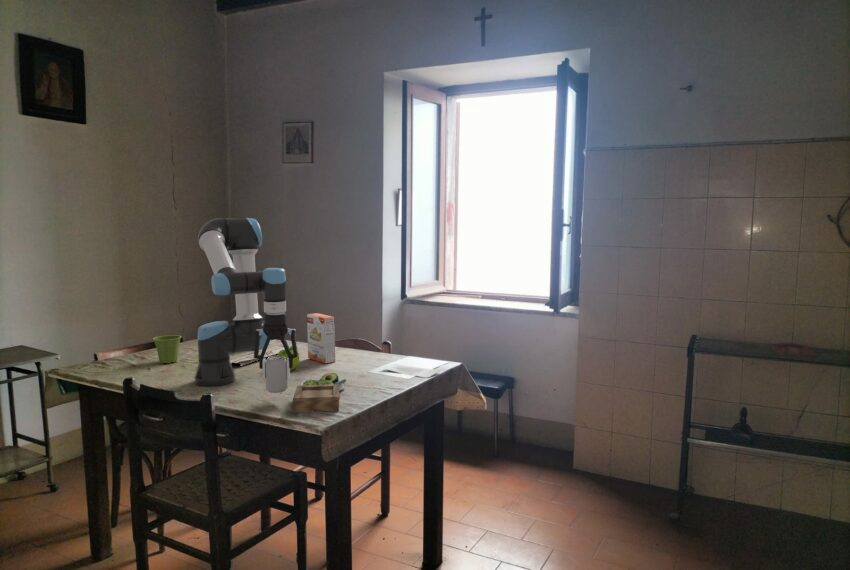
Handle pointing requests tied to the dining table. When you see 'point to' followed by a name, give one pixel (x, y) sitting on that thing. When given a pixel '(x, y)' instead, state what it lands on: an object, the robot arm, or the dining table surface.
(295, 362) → the fruit
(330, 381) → the salad plate
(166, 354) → the plant pot
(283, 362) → the can
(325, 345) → the cracker box
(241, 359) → the newspaper
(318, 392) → the wooden tray
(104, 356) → the dining table surface
